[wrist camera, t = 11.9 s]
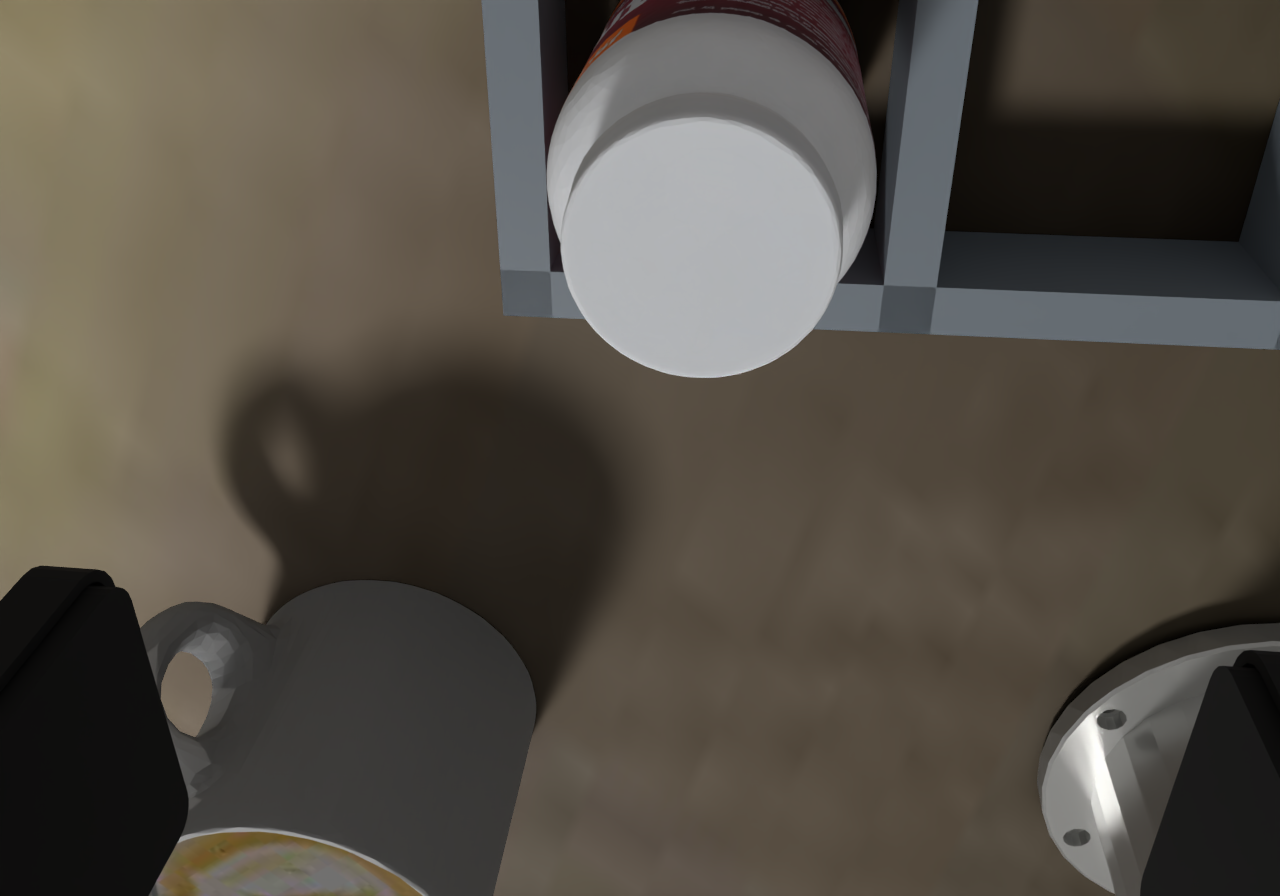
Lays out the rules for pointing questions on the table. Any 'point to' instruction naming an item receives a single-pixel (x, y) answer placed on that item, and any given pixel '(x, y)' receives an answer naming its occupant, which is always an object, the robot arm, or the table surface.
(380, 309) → the table surface
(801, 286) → the pill bottle
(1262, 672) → the robot arm
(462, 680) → the coffee mug
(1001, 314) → the compartment rack
